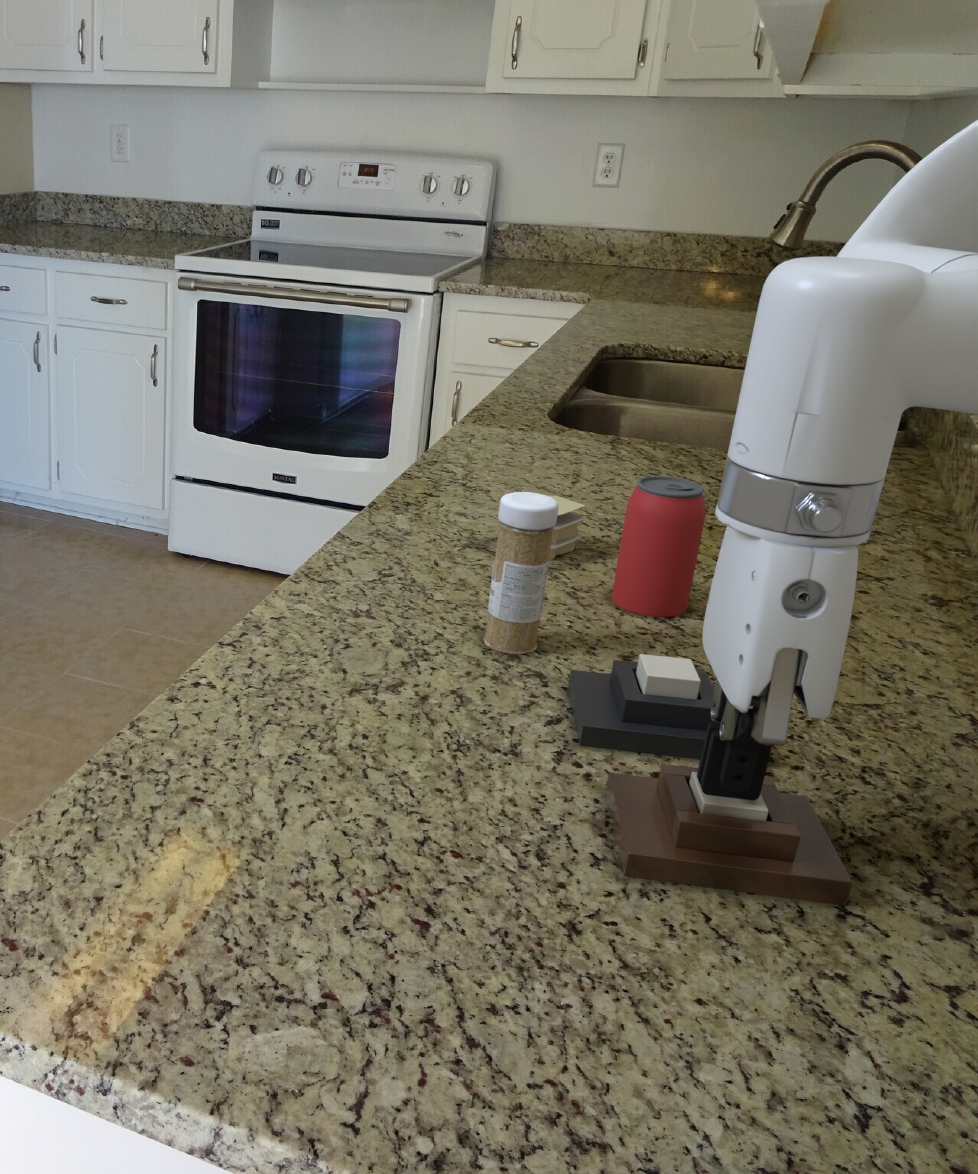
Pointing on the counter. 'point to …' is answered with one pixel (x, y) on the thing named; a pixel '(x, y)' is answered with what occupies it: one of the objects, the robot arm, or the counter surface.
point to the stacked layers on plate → (565, 527)
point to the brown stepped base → (723, 841)
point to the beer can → (659, 546)
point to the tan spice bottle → (520, 571)
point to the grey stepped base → (638, 714)
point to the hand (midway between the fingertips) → (726, 790)
